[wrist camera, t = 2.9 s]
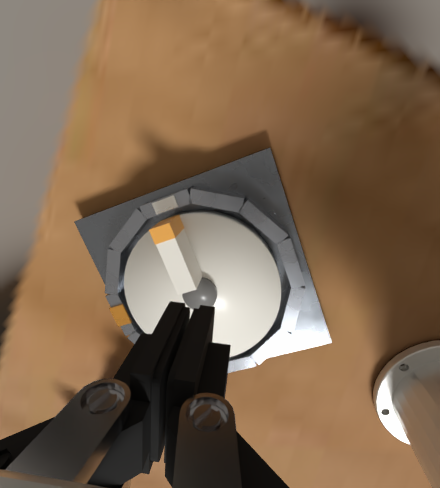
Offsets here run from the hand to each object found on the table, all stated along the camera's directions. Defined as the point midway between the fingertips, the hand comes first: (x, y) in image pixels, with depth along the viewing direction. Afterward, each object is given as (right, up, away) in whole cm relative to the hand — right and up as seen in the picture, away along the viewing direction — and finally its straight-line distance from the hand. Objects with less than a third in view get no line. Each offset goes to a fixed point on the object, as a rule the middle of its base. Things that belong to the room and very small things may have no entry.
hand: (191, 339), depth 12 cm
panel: (0, 0, +20) cm, 20 cm away
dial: (0, 0, +18) cm, 18 cm away
